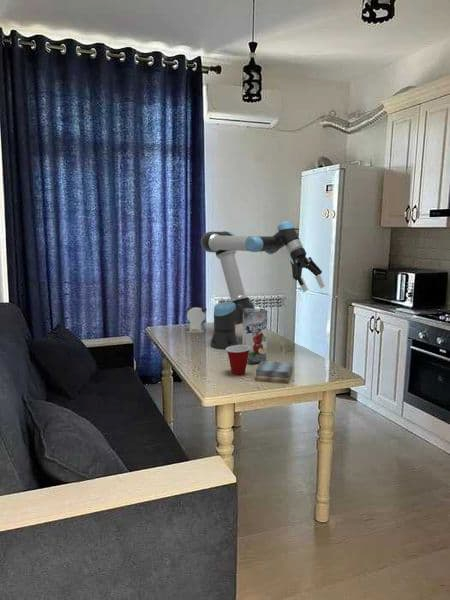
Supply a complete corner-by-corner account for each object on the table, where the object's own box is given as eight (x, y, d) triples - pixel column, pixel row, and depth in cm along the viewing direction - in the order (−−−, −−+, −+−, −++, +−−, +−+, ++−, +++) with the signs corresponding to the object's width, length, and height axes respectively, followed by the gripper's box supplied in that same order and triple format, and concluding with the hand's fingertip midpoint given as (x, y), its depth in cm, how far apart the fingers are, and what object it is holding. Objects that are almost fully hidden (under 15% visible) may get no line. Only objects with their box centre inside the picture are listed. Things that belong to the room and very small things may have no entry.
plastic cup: (224, 370, 209) (224, 344, 207) (248, 369, 210) (248, 344, 208) (226, 377, 199) (226, 350, 197) (251, 377, 199) (252, 350, 198)
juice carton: (240, 360, 225) (241, 305, 220) (259, 358, 229) (260, 304, 225) (248, 365, 217) (249, 308, 212) (268, 362, 221) (269, 307, 216)
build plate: (254, 380, 195) (254, 371, 194) (262, 367, 214) (262, 358, 213) (288, 383, 191) (288, 374, 191) (292, 369, 211) (292, 361, 210)
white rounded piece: (208, 329, 291) (208, 306, 289) (203, 333, 280) (203, 309, 278) (190, 328, 294) (189, 305, 291) (184, 332, 283) (184, 308, 280)
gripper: (285, 248, 216) (304, 288, 212) (317, 245, 233) (335, 282, 228) (274, 256, 222) (293, 295, 217) (306, 252, 238) (324, 289, 234)
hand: (314, 289), depth 223 cm, fingers open, 13 cm apart
